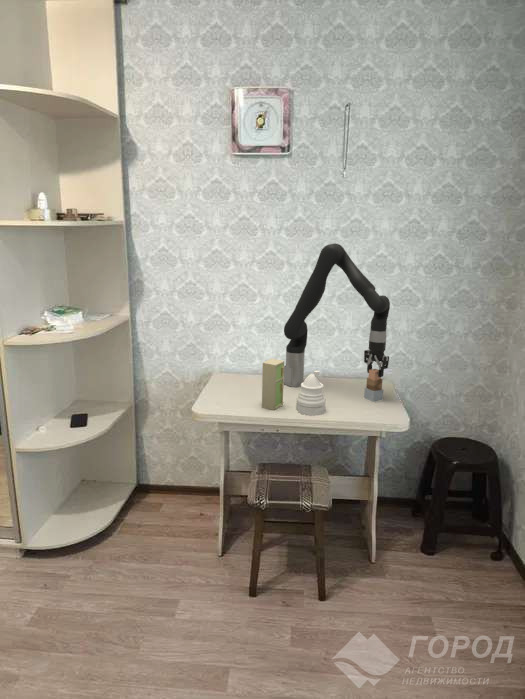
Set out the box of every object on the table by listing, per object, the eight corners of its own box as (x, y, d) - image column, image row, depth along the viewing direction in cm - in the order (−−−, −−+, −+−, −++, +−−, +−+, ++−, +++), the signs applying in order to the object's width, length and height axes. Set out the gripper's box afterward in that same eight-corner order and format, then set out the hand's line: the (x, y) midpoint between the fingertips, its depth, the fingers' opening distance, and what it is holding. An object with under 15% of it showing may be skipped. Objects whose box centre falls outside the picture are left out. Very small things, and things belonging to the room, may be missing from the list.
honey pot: (323, 405, 241) (325, 367, 236) (326, 415, 229) (328, 376, 224) (295, 404, 241) (296, 366, 236) (297, 415, 228) (298, 375, 224)
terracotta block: (374, 380, 243) (375, 372, 242) (368, 378, 246) (369, 369, 245) (380, 379, 245) (381, 370, 244) (374, 376, 248) (375, 368, 247)
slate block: (373, 402, 244) (373, 391, 242) (363, 398, 249) (364, 388, 247) (382, 399, 247) (383, 389, 246) (373, 396, 252) (374, 386, 251)
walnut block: (373, 391, 243) (374, 380, 242) (366, 388, 247) (367, 377, 246) (381, 389, 246) (382, 379, 245) (374, 386, 250) (374, 376, 249)
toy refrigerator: (275, 410, 233) (276, 365, 228) (261, 407, 237) (262, 362, 231) (284, 405, 240) (285, 360, 234) (270, 402, 243) (271, 358, 238)
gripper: (360, 337, 244) (358, 372, 249) (383, 344, 233) (380, 380, 237) (372, 335, 248) (369, 369, 253) (395, 342, 237) (392, 377, 241)
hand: (375, 374), depth 245 cm, fingers open, 6 cm apart
